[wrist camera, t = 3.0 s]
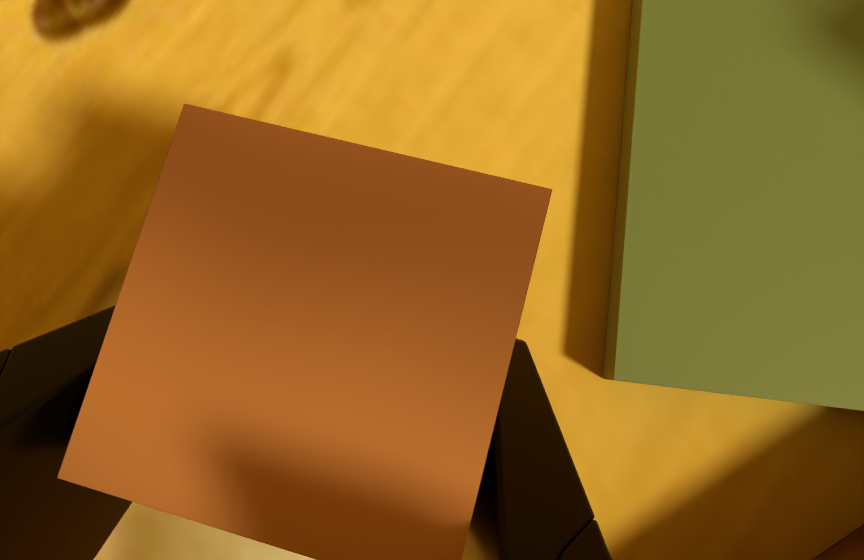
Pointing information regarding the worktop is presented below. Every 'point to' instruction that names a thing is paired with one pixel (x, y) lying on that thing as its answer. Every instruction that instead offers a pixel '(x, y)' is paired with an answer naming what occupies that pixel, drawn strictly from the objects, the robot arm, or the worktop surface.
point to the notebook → (742, 201)
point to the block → (310, 342)
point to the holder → (846, 548)
